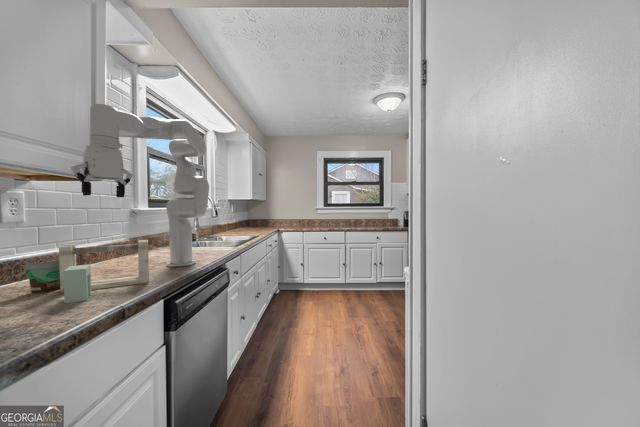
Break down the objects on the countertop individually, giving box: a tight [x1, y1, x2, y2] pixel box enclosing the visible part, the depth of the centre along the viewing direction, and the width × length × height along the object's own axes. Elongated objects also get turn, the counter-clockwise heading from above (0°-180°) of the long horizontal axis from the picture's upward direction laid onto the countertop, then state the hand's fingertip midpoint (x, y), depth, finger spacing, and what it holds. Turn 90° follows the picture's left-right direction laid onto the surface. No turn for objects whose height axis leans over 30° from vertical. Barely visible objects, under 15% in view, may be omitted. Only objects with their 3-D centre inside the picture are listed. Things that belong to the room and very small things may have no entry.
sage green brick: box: [63, 264, 92, 304], centre depth 83 cm, size 7×5×10 cm
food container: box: [24, 259, 60, 294], centre depth 93 cm, size 12×6×10 cm, turn 168°
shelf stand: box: [58, 239, 150, 295], centre depth 96 cm, size 6×24×15 cm, turn 121°
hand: (104, 196), depth 90 cm, fingers open, 9 cm apart
